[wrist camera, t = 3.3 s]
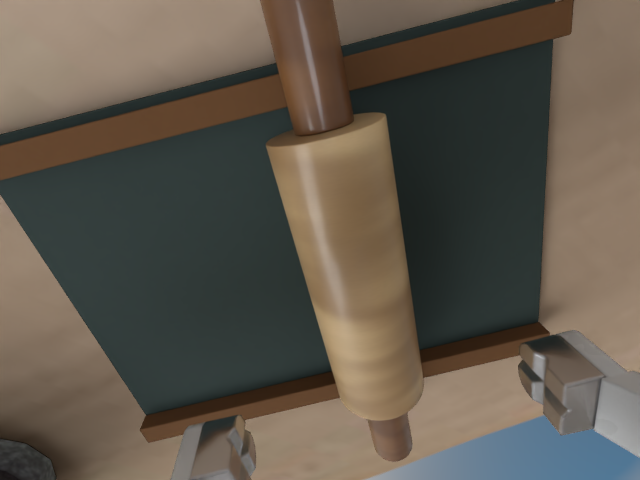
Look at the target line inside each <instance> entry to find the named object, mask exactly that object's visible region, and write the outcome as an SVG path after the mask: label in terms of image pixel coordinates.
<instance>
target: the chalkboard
mask: <svg viewBox="0 0 640 480" xmlns="http://www.w3.org/2000/svg"><path fill="white" fill-rule="evenodd" d="M573 1H574V0H562V1H558V2H555V0H518V1H514V2H510V3H506V4H502V5H499V6H495V7H491V8H487V9H483V10H479V11H475V12H472V13H468V14H464V15H460V16H456V17H452V18H448V19H445V20H441V21H437V22H433V23H429V24H425V25H421V26H418V27H414V28H410V29H406V30H402V31H398V32H394V33H391V34H387V35H383V36H379V37H375V38H371V39H367V40H364V41H360V42H356V43H352V44H348V45H344V46H341V48H342V53H343V59H344V65H345V70H346V76H347V81H348V87H349V92H350V98H351V103H352V109H353V115H354V114H361V113H373V112H377V113H384V114H385V115H386V118H387V125H388V132H389V139H390V146H391V153H392V160H393V167H394V174H395V181H396V188H397V196H398V203H399V210H400V217H401V224H402V231H403V238H404V245H405V252H406V259H407V266H408V273H409V280H410V288H411V295H412V302H413V309H414V316H415V323H416V330H417V337H418V344H419V351H420V358H421V365H422V372H423V378H425V377H429V376H433V375H437V374H442V373H446V372H450V371H454V370H459V369H463V368H467V367H471V366H475V365H480V364H484V363H488V362H492V361H497V360H501V359H505V358H509V357H514V356H518V355H519V354H518V353H519V346H520V344H521V343H524V342H528V341H531V340H535V339H539V338H543V337H547V336H550V333H549V331H548V330H547V329H545V328H544V327H543V326H542V325H541V324H540V323H539V322H538V319H539V300H540V281H541V262H542V242H543V223H544V204H545V184H546V165H547V146H548V127H549V107H550V88H551V69H552V49H553V39H555V38H559V37H563V36H567V35H569V34H571V29H572V15H573ZM290 130H293V126H292V123H291V119H290V115H289V111H288V107H287V103H286V99H285V95H284V91H283V87H282V83H281V80H280V76H279V72H278V68H277V64H276V63H275V64H271V65H267V66H263V67H259V68H256V69H252V70H248V71H244V72H240V73H236V74H232V75H229V76H225V77H221V78H217V79H213V80H209V81H205V82H202V83H198V84H194V85H190V86H186V87H182V88H178V89H175V90H171V91H167V92H163V93H159V94H155V95H151V96H148V97H144V98H140V99H136V100H132V101H128V102H124V103H121V104H117V105H113V106H109V107H105V108H101V109H97V110H94V111H90V112H86V113H82V114H78V115H74V116H70V117H67V118H63V119H59V120H55V121H51V122H47V123H43V124H40V125H36V126H32V127H28V128H24V129H20V130H16V131H13V132H9V133H5V134H1V135H0V195H1V196H2V198H3V199H4V201H5V202H6V204H7V205H8V207H9V208H10V210H11V211H12V213H13V214H14V216H15V217H16V219H17V220H18V222H19V223H20V225H21V226H22V228H23V229H24V231H25V232H26V234H27V236H28V237H29V239H30V240H31V242H32V243H33V245H34V246H35V248H36V249H37V251H38V252H39V254H40V255H41V257H42V258H43V260H44V261H45V263H46V264H47V266H48V267H49V269H50V270H51V272H52V273H53V275H54V276H55V278H56V279H57V281H58V282H59V284H60V285H61V287H62V288H63V290H64V292H65V293H66V295H67V296H68V298H69V299H70V301H71V302H72V304H73V305H74V307H75V308H76V310H77V311H78V313H79V314H80V316H81V317H82V319H83V320H84V322H85V323H86V325H87V326H88V328H89V329H90V331H91V332H92V334H93V335H94V337H95V338H96V340H97V341H98V343H99V344H100V346H101V348H102V349H103V351H104V352H105V354H106V355H107V357H108V358H109V360H110V361H111V363H112V364H113V366H114V367H115V369H116V370H117V372H118V373H119V375H120V376H121V378H122V379H123V381H124V382H125V384H126V385H127V387H128V388H129V390H130V391H131V393H132V394H133V396H134V397H135V399H136V400H137V402H138V404H139V405H140V407H141V408H142V410H143V411H144V413H145V414H146V416H145V419H144V421H143V423H142V426H141V428H140V431H141V433H142V434H143V436H144V437H145V438H146V440H147V441H148V442H154V441H158V440H162V439H166V438H171V437H175V436H179V435H183V434H184V432H185V430H186V429H187V427H188V426H191V425H195V424H199V423H204V422H207V421H212V420H216V419H221V418H225V417H230V416H234V415H242V417H243V419H244V420H247V419H251V418H255V417H259V416H264V415H268V414H272V413H276V412H281V411H285V410H289V409H293V408H298V407H302V406H306V405H310V404H315V403H319V402H323V401H327V400H331V399H336V398H340V396H339V393H338V389H337V386H336V382H335V379H334V376H333V372H332V369H331V365H330V362H329V359H328V355H327V352H326V348H325V345H324V342H323V338H322V335H321V331H320V328H319V325H318V321H317V318H316V314H315V311H314V308H313V304H312V301H311V298H310V294H309V291H308V287H307V284H306V281H305V277H304V274H303V270H302V267H301V264H300V260H299V257H298V253H297V250H296V247H295V243H294V240H293V236H292V233H291V230H290V226H289V223H288V219H287V216H286V213H285V209H284V206H283V203H282V199H281V196H280V192H279V189H278V186H277V182H276V179H275V175H274V172H273V169H272V165H271V162H270V158H269V155H268V152H267V148H266V143H267V141H269V140H270V139H272V138H273V137H275V136H277V135H280V134H282V133H285V132H287V131H290Z"/></svg>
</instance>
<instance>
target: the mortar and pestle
mask: <svg viewBox="0 0 640 480" xmlns="http://www.w3.org/2000/svg"><path fill="white" fill-rule="evenodd" d="M0 480H56V476H55V473H54V470H53V466H52V463H51V460H50V459H48V458H47V457H45V456H44V455H42V454H41V453H39V452H38V451H36V450H35V449H33V448H32V447H30V446H29V445H27V444H25V443H20V442H14V441H9V440H4V439H0Z"/></svg>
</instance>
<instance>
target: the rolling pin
mask: <svg viewBox="0 0 640 480" xmlns="http://www.w3.org/2000/svg"><path fill="white" fill-rule="evenodd" d="M260 1H261V5H262V9H263V13H264V17H265V21H266V25H267V29H268V33H269V37H270V40H271V44H272V48H273V52H274V56H275V60H276V64H277V68H278V72H279V76H280V80H281V83H282V87H283V91H284V95H285V99H286V103H287V107H288V111H289V115H290V119H291V123H292V126H293V130H290V131H287V132H285V133H282V134H280V135H277V136H275V137H273V138H272V139H270V140H269V141H267V143H266V148H267V152H268V155H269V158H270V162H271V165H272V169H273V172H274V175H275V179H276V182H277V186H278V189H279V192H280V196H281V199H282V203H283V206H284V209H285V213H286V216H287V219H288V223H289V226H290V230H291V233H292V236H293V240H294V243H295V247H296V250H297V253H298V257H299V260H300V264H301V267H302V270H303V274H304V277H305V281H306V284H307V287H308V291H309V294H310V298H311V301H312V304H313V308H314V311H315V314H316V318H317V321H318V325H319V328H320V331H321V335H322V338H323V342H324V345H325V348H326V352H327V355H328V359H329V362H330V365H331V369H332V372H333V376H334V379H335V382H336V386H337V389H338V393H339V396H340V398H341V400H342V402H343V404H344V405H345V406H346V407H347V408H348V409H349V410H350V411H351V412H352V413H354V414H356V415H357V416H360V417H362V418H365V419H367V420H368V424H369V428H370V431H371V435H372V439H373V443H374V447H375V450H376V452H377V453H378V454H379V455H380V456H381V457H382V458H383V459H385V460H388V461H393V462H395V461H400V460H403V459H404V458H406V457H407V456H408V455H409V453H410V451H411V449H412V437H411V431H410V426H409V420H408V415H407V412H408V411H410V410H411V409H412V408H413V407H414V406H415V405H416V404H417V402H418V401H419V399H420V397H421V395H422V392H423V387H424V380H423V372H422V365H421V358H420V351H419V344H418V337H417V330H416V323H415V316H414V309H413V302H412V295H411V288H410V280H409V273H408V266H407V259H406V252H405V245H404V238H403V231H402V224H401V217H400V210H399V203H398V196H397V188H396V181H395V174H394V167H393V160H392V153H391V146H390V139H389V132H388V125H387V118H386V115H385V114H384V113H377V112H373V113H361V114H354V115H353V109H352V103H351V98H350V92H349V87H348V81H347V76H346V70H345V65H344V59H343V53H342V48H341V42H340V37H339V31H338V26H337V20H336V14H335V9H334V3H333V0H260Z"/></svg>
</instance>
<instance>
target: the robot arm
mask: <svg viewBox="0 0 640 480" xmlns="http://www.w3.org/2000/svg"><path fill="white" fill-rule="evenodd" d="M518 354H519V355H520V356H521V357H522V358H523V360H522V361H521V363H520V364H519V365H518V370H519V377H520V380H521V383H522V385H523V387H524V388H525V390H526V392H527V393H528V394H529V396H530V397H531V398H532V400H534V401H536V402H538V403H540V404H542V405H543V414H544V415H545V416H546V417H547V418H548V420H549V421H550V422H551V424H552V425H553V426H554V427H555V429H556V430H557V431H558V432H559V433H560V435H566V434H570V433H575V432H580V431H584V430H589V429H594V431H596V432H598V433H599V434H601V435H603V436H604V437H606V438H608V439H609V440H611V441H613V442H614V443H616V444H618V445H619V446H621V447H623V448H624V449H626V450H628V451H629V452H631V453H633V454H634V455H636V456H638V457H639V458H640V373H639V372H636V371H630V372H627V371H626V370H625V369H624V368H623V367H621V366H620V365H619V364H618V363H617V362H615V361H614V360H613V359H612V358H610V357H609V356H608V355H607V354H606V353H604V352H603V351H602V350H601V349H600V348H598V347H597V346H596V345H595V344H594V343H592V342H591V341H590V340H589V339H587V338H586V337H585V336H584V335H583V334H581V333H580V332H579V331H576V330H571V331H567V332H563V333H559V334H556V335H550V336H547V337H543V338H539V339H535V340H531V341H528V342H524V343H521V344H520V346H519V353H518ZM255 468H256V450H255V444H254V440H253V437H252V435H251V433H250V432H249V431H247V430H245V420H244V419H243V417H242V415H234V416H230V417H225V418H221V419H216V420H212V421H207V422H204V423H199V424H195V425H191V426H188V427H187V429H186V430H185V432H184V435H183V438H182V442H181V445H180V448H179V452H178V455H177V459H176V462H175V466H174V469H173V473H172V476H171V479H170V480H251V478H250V476H251V475H252V473H253V472H254V470H255Z"/></svg>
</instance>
